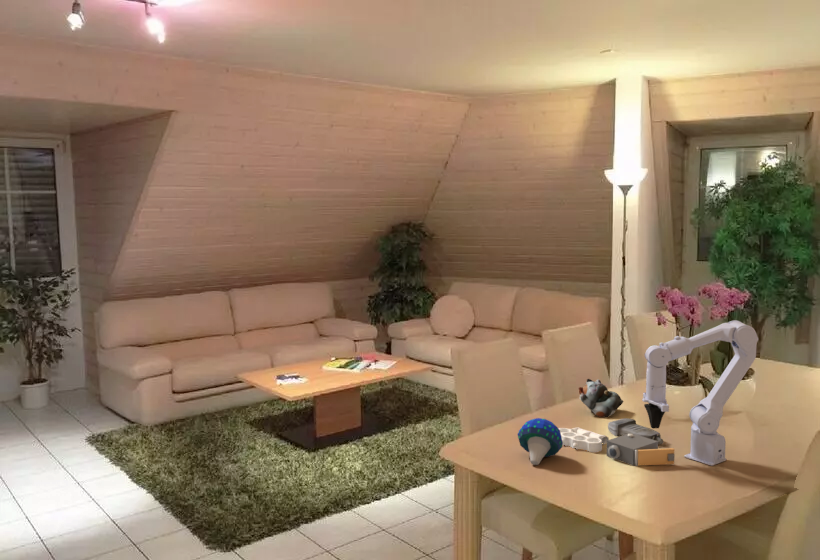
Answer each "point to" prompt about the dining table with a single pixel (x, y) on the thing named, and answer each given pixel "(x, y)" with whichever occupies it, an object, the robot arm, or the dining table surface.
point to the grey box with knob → (628, 447)
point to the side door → (654, 456)
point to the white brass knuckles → (583, 439)
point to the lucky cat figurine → (599, 398)
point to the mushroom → (540, 439)
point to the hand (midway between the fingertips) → (654, 427)
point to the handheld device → (633, 429)
